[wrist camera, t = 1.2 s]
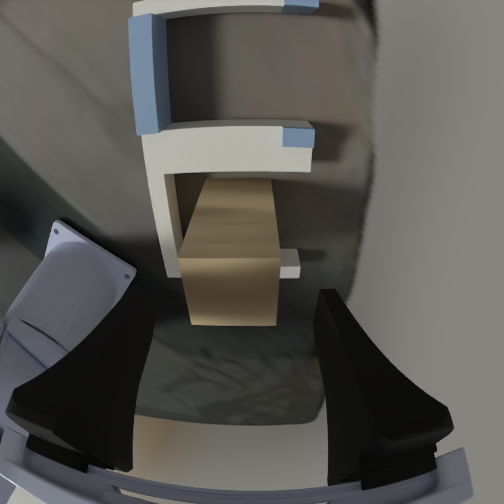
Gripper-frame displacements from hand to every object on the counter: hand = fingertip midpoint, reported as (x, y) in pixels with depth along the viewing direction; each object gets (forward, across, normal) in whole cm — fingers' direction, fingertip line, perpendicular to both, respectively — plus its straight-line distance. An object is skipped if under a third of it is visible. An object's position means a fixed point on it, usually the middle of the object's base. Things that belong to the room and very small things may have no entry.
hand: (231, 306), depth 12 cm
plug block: (+9, 0, 0) cm, 9 cm away
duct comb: (+9, 0, -4) cm, 10 cm away
